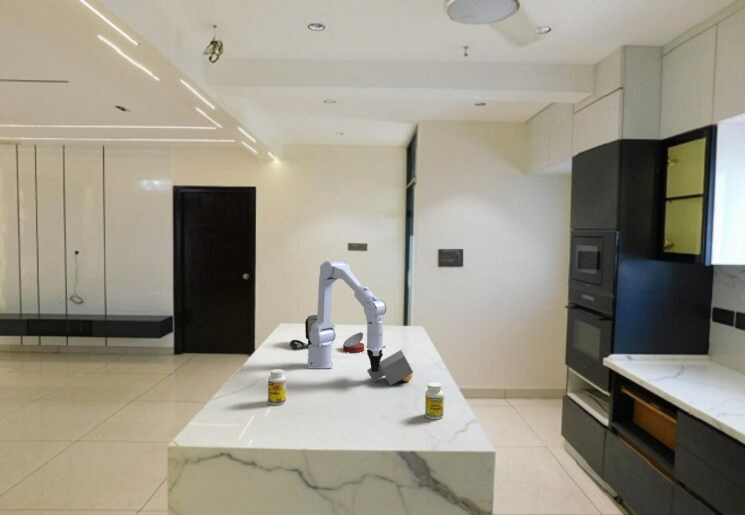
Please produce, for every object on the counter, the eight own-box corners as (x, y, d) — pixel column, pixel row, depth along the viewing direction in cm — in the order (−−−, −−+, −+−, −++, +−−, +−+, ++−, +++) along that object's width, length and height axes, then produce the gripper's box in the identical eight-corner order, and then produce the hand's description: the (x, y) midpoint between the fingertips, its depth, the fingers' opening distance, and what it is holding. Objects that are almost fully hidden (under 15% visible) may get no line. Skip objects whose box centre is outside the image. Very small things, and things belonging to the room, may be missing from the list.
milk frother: (330, 346, 214) (330, 316, 214) (308, 353, 201) (308, 321, 201) (308, 342, 222) (308, 313, 222) (285, 349, 209) (285, 317, 208)
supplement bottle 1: (264, 404, 139) (264, 372, 139) (273, 398, 145) (273, 367, 144) (280, 406, 138) (280, 374, 137) (289, 400, 143) (289, 369, 143)
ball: (413, 382, 162) (400, 383, 161) (411, 378, 167) (398, 379, 166) (413, 369, 161) (399, 370, 161) (411, 365, 166) (397, 366, 166)
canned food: (361, 362, 204) (362, 346, 199) (340, 359, 206) (340, 342, 201) (366, 346, 214) (367, 330, 209) (346, 343, 215) (346, 327, 210)
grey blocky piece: (378, 392, 158) (367, 374, 158) (376, 384, 168) (366, 366, 167) (413, 372, 159) (403, 354, 158) (409, 365, 168) (400, 347, 168)
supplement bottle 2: (439, 412, 135) (440, 380, 135) (446, 419, 130) (446, 386, 129) (422, 413, 134) (423, 381, 133) (428, 420, 129) (429, 387, 128)
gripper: (387, 338, 155) (387, 376, 156) (384, 329, 170) (383, 364, 170) (367, 338, 155) (366, 376, 155) (365, 329, 169) (365, 364, 170)
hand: (374, 370), depth 163 cm, fingers closed
